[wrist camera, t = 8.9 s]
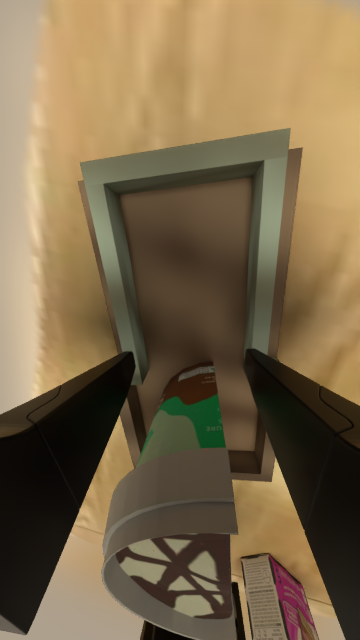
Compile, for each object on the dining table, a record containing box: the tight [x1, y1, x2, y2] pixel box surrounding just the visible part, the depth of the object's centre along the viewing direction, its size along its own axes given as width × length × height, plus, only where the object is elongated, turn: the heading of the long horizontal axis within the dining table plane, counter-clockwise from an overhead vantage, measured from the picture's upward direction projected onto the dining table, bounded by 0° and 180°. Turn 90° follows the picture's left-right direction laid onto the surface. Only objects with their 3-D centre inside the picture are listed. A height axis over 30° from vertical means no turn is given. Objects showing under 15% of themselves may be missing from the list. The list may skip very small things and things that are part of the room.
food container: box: [101, 361, 238, 640], centre depth 12 cm, size 12×6×10 cm, turn 6°
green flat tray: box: [78, 128, 303, 482], centre depth 14 cm, size 25×13×2 cm, turn 5°
